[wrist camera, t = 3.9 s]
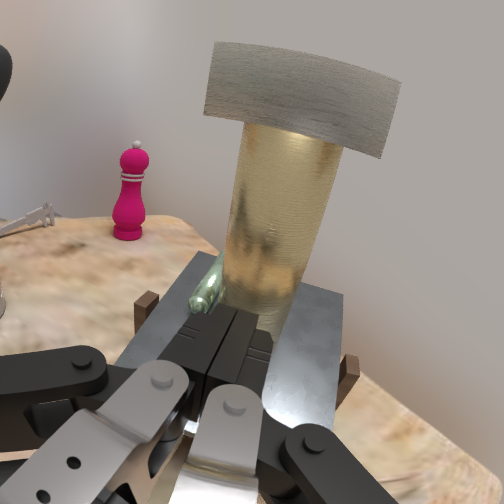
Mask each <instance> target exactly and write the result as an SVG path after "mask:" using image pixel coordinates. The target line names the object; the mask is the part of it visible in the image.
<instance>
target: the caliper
mask: <svg viewBox="0 0 504 504" xmlns="http://www.w3.org/2000/svg"><path fill="white" fill-rule="evenodd" d="M43 206H44V208H42V207H40V208H38V209H36V210H34V211H31V212H29V213H27V214H25V216H24V217H22V218H20V219H17V220H15V221H13V222H11V223H9V224H6V225H4V226H2V227H0V236H1V235H3V234H5V233H7V232H9V231H11V230H14V229H16V228H18V227H20V226H22V225H25V224H27V223H28V225H29V226H30V225H32V224H35V223H36V222H37V221H38V220H40V219H41V221H42V223H43V224H44V226H45V227H48V226H47V221H46V218H45V215H47V214H49V217H50V221H51V225H52V226H53V225H54V211H53V208H52V205H51V204H49V201H48V200H47V203H46V204H45V203H44V202H43Z"/></svg>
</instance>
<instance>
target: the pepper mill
mask: <svg viewBox="0 0 504 504" xmlns="http://www.w3.org/2000/svg"><path fill="white" fill-rule="evenodd" d="M132 147H133V148H132V149H128V150H126V151H125V152H124V153H123V154H122V156H121V158H120V166H121V168H122V169H123V171H122V172H121V177H120V178H121V179H122V188H121V193H120V196H119V198H118V200H117V202H116V204H115V207H114V210H113V215H112V218H113V221H114V222H115V223H116V225H115V226H114V236H115V237H116V238H118V239H121V240H136V239H138V238H140V237H141V235H142V227H141V226H140V225H141V224H142V223H143V222H144V220H145V208H144V205H143V202H142V198H141V183H142V181H143V180H144V175H145V174H144V173H143V172H144V170H145V169H146V168H147V166H148V164H149V157H148V155H147V153H146V152H145V151H144V150H142V149H139V148H140V147H141V143H140V142H139V141H135V142H134V143H133V145H132Z"/></svg>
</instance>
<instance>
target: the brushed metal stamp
mask: <svg viewBox="0 0 504 504" xmlns="http://www.w3.org/2000/svg"><path fill="white" fill-rule="evenodd" d="M400 87H401V82H400V81H398V80H395V79H392V78H390V77H387V76H385V75H382V74H379V73H376V72H373V71H370V70H367V69H364V68H361V67H358V66H355V65H351V64H348V63H345V62H341V61H337V60H334V59H330V58H326V57H322V56H317V55H313V54H308V53H303V52H298V51H292V50H287V49H282V48H275V47H268V46H261V45H252V44H243V43H230V42H215V43H214V49H213V54H212V60H211V66H210V72H209V78H208V85H207V93H206V99H205V106H204V113H203V115H206V116H213V117H219V118H225V119H232V120H237V121H242V122H244V127H243V132H242V138H241V145H240V151H239V157H238V163H237V170H236V176H235V182H234V189H233V196H232V203H231V209H230V216H229V224H228V231H227V237H226V245H225V250H223V251H221V252H220V253H219V255H218V256H214V255H210V254H207V253H204V252H201V251H198V252H197V254H196V255H195V256H194V257H193V259H192V260H191V261H190V263H189V264H188V265H187V266H186V268H185V269H184V270H183V272H182V273H181V274H180V275H179V277H178V278H177V279H176V281H175V282H174V283H173V285H172V286H171V287H170V288H169V290H168V291H167V292H166V294H165V295H164V296H163V298H162V299H161V300H160V302H159V303H158V304H157V306H156V307H155V308H154V310H153V311H152V312H151V314H150V315H149V317H148V318H147V319H146V321H145V322H144V323H143V325H142V326H141V327H140V329H139V330H138V332H137V333H136V334H135V336H134V337H133V339H132V340H131V341H130V343H129V344H128V346H127V347H126V348H125V350H124V351H123V353H122V354H121V355H120V357H119V358H118V360H117V361H116V363H115V364H114V365H113V366H118V367H123V368H130V369H136V368H139V367H140V366H141V365H142V364H144V363H146V362H148V361H152V360H156V359H157V358H158V357H159V355H160V354H161V353H162V351H163V350H164V349H165V347H166V346H167V345H168V344H169V342H170V341H171V340H172V338H173V337H174V336H175V334H177V332H178V330H179V329H180V328H181V327H182V326H183V324H184V323H185V321H186V320H187V319H188V317H189V316H191V315H193V314H195V313H198V312H200V311H201V312H204V313H207V314H211V313H212V311H213V309H214V308H215V306H216V305H217V303H221V304H225V305H228V306H231V307H234V308H238V311H239V309H241V310H244V311H248V312H251V313H255V314H258V315H259V318H258V322H257V325H256V329H260V330H263V331H267V332H270V334H271V337H272V339H273V342H274V344H273V349H272V353H271V358H270V362H269V366H268V371H267V375H266V380H265V384H264V388H263V392H262V404H263V406H264V408H265V410H266V411H267V413H268V414H269V415H270V416H271V417H273V418H274V419H275V420H277V421H279V422H281V423H282V424H284V425H286V426H288V427H290V428H294V427H295V426H297V425H300V424H305V423H313V424H318V425H321V426H324V427H326V428H328V429H329V430H331V431H332V429H333V422H334V414H335V407H336V398H337V389H338V379H339V368H340V355H341V340H342V320H343V294H339V293H336V292H333V291H330V290H326V289H323V288H319V287H316V286H313V285H309V284H306V283H302V282H301V279H302V277H303V274H304V271H305V268H306V266H307V263H308V260H309V257H310V254H311V251H312V248H313V245H314V242H315V239H316V236H317V233H318V230H319V227H320V224H321V221H322V218H323V215H324V212H325V209H326V205H327V202H328V199H329V196H330V192H331V189H332V186H333V183H334V179H335V176H336V172H337V169H338V166H339V162H340V158H341V155H342V151H343V148H344V147H346V148H349V149H353V150H356V151H359V152H362V153H365V154H367V155H370V156H373V157H376V158H379V159H381V156H382V152H383V149H384V146H385V143H386V139H387V136H388V132H389V129H390V125H391V122H392V118H393V114H394V111H395V107H396V103H397V99H398V95H399V91H400ZM199 419H200V417H199ZM199 419H198V421H197V423H195V422H193V421H190V420H188V422H187V424H186V426H185V428H184V435H185V436H188V437H190V438H193V439H194V437H195V434H196V431H197V428H198V425H199Z"/></svg>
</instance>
